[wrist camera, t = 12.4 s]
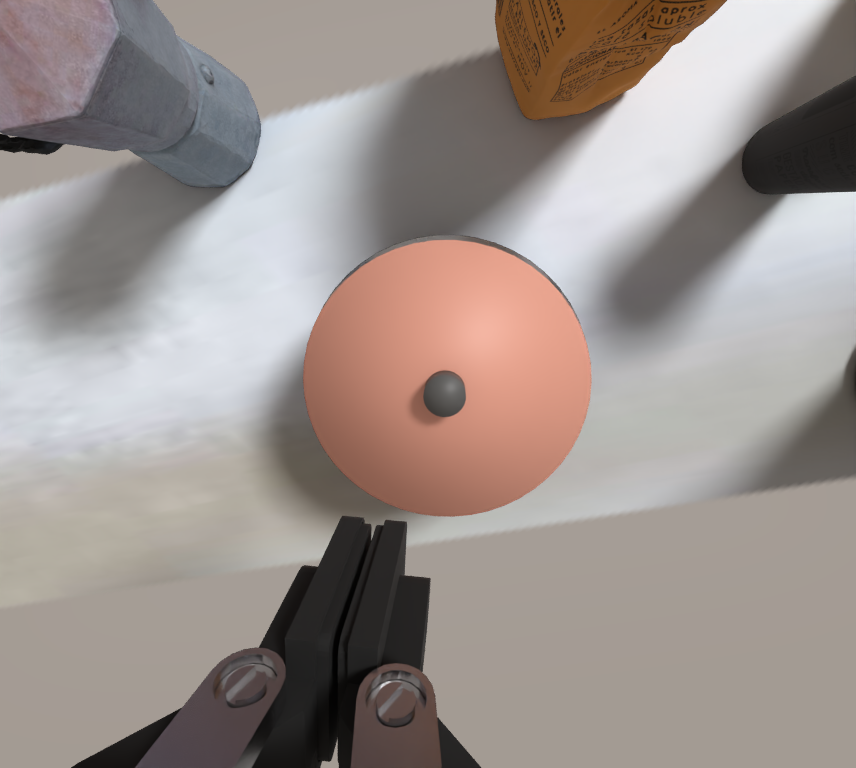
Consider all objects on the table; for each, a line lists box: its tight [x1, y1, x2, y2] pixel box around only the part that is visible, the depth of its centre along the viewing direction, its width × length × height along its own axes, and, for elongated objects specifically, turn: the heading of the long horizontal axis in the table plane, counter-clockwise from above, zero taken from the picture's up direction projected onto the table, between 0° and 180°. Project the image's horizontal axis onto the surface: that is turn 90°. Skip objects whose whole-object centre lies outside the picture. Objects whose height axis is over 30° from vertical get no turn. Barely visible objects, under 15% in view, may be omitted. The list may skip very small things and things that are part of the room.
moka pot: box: [0, 0, 261, 187], centre depth 25 cm, size 10×15×20 cm, turn 127°
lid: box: [303, 240, 591, 516], centre depth 27 cm, size 17×17×3 cm
